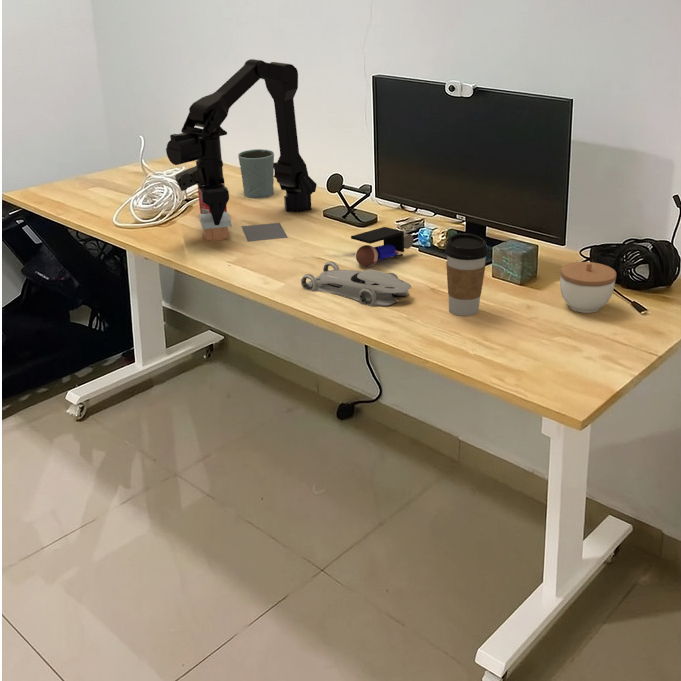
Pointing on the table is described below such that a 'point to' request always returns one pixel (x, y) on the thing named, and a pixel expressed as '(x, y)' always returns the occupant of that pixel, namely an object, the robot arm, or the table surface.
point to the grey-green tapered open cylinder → (257, 172)
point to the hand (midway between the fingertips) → (215, 219)
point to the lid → (208, 221)
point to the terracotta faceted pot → (216, 233)
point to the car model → (358, 285)
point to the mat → (264, 232)
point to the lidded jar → (587, 285)
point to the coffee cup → (465, 272)
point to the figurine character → (392, 245)
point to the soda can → (203, 207)
